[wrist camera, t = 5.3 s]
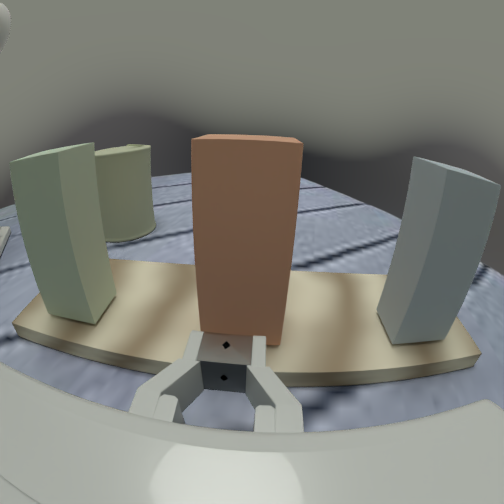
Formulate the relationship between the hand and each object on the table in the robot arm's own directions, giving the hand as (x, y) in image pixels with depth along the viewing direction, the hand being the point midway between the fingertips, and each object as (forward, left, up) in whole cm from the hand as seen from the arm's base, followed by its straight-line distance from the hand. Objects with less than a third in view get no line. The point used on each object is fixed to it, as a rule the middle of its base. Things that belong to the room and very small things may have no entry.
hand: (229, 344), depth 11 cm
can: (-32, -4, -7) cm, 32 cm away
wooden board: (-8, +4, -6) cm, 11 cm away
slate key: (0, +15, -5) cm, 15 cm away
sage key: (-12, -8, -5) cm, 15 cm away
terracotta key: (-6, +3, -5) cm, 8 cm away
